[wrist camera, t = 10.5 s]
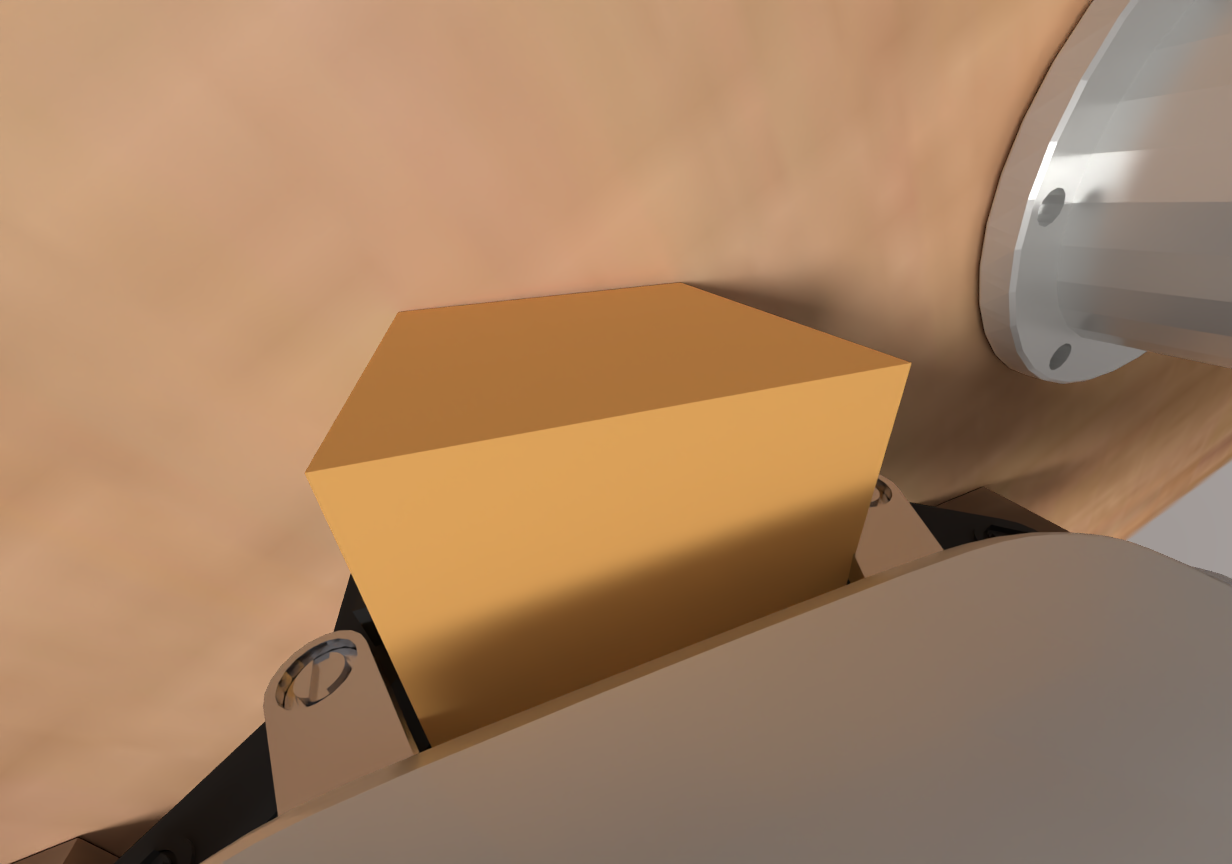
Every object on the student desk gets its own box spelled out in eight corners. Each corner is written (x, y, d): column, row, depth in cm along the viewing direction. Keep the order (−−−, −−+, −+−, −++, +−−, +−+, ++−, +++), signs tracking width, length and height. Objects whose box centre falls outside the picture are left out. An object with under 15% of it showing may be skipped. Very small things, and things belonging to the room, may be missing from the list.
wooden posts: (988, 473, 18) (1308, 632, 11) (969, 527, 20) (1241, 695, 13) (-67, 895, 11) (-927, 2040, 4) (33, 928, 12) (-476, 1805, 6)
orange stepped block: (397, 312, 8) (303, 473, 3) (680, 282, 10) (912, 363, 5) (497, 664, 14) (518, 935, 9) (672, 610, 15) (778, 814, 10)
